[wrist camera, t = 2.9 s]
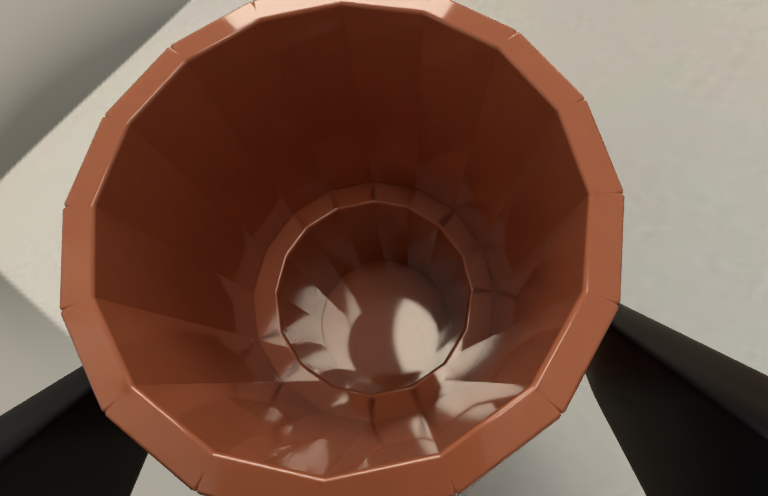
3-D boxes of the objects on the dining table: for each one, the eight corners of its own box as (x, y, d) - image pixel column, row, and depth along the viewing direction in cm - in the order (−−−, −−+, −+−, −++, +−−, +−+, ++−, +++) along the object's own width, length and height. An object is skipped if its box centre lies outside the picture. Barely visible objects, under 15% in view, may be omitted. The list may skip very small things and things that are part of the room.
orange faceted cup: (458, 433, 17) (610, 598, 4) (280, 394, 17) (-42, 436, 5) (482, 256, 19) (633, 10, 6) (322, 228, 19) (168, -38, 7)
